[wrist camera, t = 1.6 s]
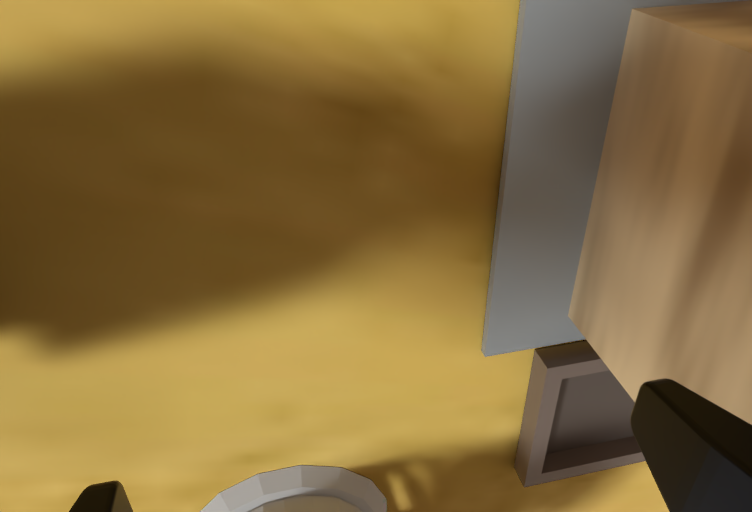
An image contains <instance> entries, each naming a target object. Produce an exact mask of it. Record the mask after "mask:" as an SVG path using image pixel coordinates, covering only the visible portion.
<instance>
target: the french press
mask: <svg viewBox="0 0 752 512" xmlns="http://www.w3.org/2000/svg"><path fill="white" fill-rule="evenodd" d="M200 512H387V499H386V498H385V496H384V495H383V494H382V493H381V491H380V490H379V489H378V488H377V487H376V485H375V484H374V483H373V482H372V480H370V479H368V478H366V477H363V476H361V475H358V474H356V473H353V472H351V471H349V470H346V469H344V468H341V467H325V466H307V465H299V466H294V467H290V468H285V469H280V470H275V471H270V472H265V473H261V474H257V475H255V476H253V477H251V478H249V479H247V480H245V481H243V482H240V483H238V484H236V485H234V486H232V487H230V488H228V489H226V490H224V491H222V492H220V493H219V494H218V495H217V496H216V497H215V498H214V499H213V500H212V501H210V502H209V503H208V504H207V505H206V506H205V507H204V508H203V509H202V510H201V511H200Z"/></svg>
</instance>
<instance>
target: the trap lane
mask: <svg viewBox="0 0 752 512" xmlns="http://www.w3.org/2000/svg"><path fill="white" fill-rule="evenodd" d="M734 1H748V0H520V8H519V17H518V26H517V35H516V44H515V53H514V62H513V71H512V80H511V89H510V98H509V107H508V116H507V125H506V134H505V143H504V152H503V161H502V170H501V179H500V188H499V197H498V206H497V214H496V223H495V232H494V241H493V250H492V259H491V268H490V277H489V286H488V295H487V304H486V313H485V322H484V331H483V340H482V349H481V351H482V352H483V354H484V356H485V357H487V356H492V355H498V354H504V353H509V352H515V351H521V350H526V349H532V348H538V347H544V346H549V345H555V344H561V343H566V342H572V341H578V340H583V339H585V337H584V336H583V335H582V333H581V332H580V331H579V330H578V328H577V327H576V326H575V324H574V323H573V322H572V321H571V319H570V318H569V317H568V313H569V308H570V304H571V299H572V294H573V289H574V284H575V280H576V275H577V270H578V265H579V260H580V256H581V251H582V246H583V241H584V236H585V232H586V227H587V222H588V217H589V212H590V208H591V203H592V198H593V193H594V188H595V184H596V179H597V174H598V169H599V164H600V160H601V155H602V150H603V145H604V140H605V136H606V131H607V126H608V121H609V117H610V112H611V107H612V102H613V97H614V93H615V88H616V83H617V78H618V73H619V69H620V64H621V59H622V54H623V49H624V45H625V40H626V35H627V30H628V25H629V21H630V16H631V11H632V9H634V8H648V7H662V6H677V5H691V4H705V3H719V2H734ZM634 404H635V402H634V401H633V399H632V398H631V397H630V395H629V394H628V393H627V392H626V390H625V389H624V388H623V386H622V385H621V384H620V383H619V381H618V380H617V379H616V377H615V376H614V375H613V374H612V372H611V371H610V370H609V368H608V367H607V366H606V364H605V363H604V362H603V361H602V359H601V358H600V357H599V355H598V354H597V353H596V352H595V350H594V349H593V348H592V346H591V345H590V344H589V343H588V341H587V340H586V341H581V342H575V343H569V344H564V345H558V346H552V347H546V348H541V349H535V352H534V357H533V363H532V369H531V374H530V380H529V386H528V391H527V397H526V403H525V408H524V414H523V420H522V425H521V431H520V437H519V442H518V448H517V454H516V459H515V465H514V468H515V470H516V472H517V474H518V476H519V478H520V480H521V482H522V484H523V486H524V487H528V486H533V485H537V484H542V483H546V482H551V481H556V480H560V479H565V478H569V477H574V476H578V475H583V474H588V473H592V472H597V471H601V470H606V469H610V468H615V467H620V466H624V465H629V464H633V463H638V462H642V461H646V460H645V458H644V456H643V454H642V452H641V450H640V447H639V445H638V443H637V441H636V439H635V437H634V435H633V432H632V429H631V423H630V418H631V414H632V410H633V407H634Z"/></svg>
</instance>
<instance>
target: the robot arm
mask: <svg viewBox="0 0 752 512" xmlns="http://www.w3.org/2000/svg"><path fill="white" fill-rule="evenodd" d="M630 423H631V429H632V432H633V435H634V437H635V439H636V441H637V443H638V445H639V447H640V450H641V452H642V454H643V456H644V458H645V460H646V462H647V464H648V467H649V469H650V471H651V473H652V475H653V477H654V479H655V482H656V484H657V486H658V488H659V490H660V492H661V494H662V497H663V499H664V501H665V503H666V505H667V507H668V509H669V511H670V512H752V425H751V424H749V423H748V422H746V421H744V420H742V419H741V418H739V417H737V416H735V415H734V414H732V413H730V412H728V411H727V410H725V409H723V408H721V407H720V406H718V405H716V404H714V403H713V402H711V401H709V400H707V399H706V398H704V397H702V396H700V395H699V394H697V393H695V392H693V391H692V390H690V389H688V388H686V387H685V386H683V385H681V384H679V383H678V382H676V381H674V380H671V379H667V378H663V379H657V380H652V381H647V382H644V383H643V384H642V385H641V386H640V389H639V392H638V395H637V398H636V401H635V404H634V407H633V410H632V414H631V418H630ZM69 512H133V510H132V508H131V505H130V503H129V500H128V498H127V495H126V493H125V490H124V488H123V486H122V484H121V483H120V482H119V481H109V482H104V483H99V484H93V485H90V486H88V487H87V488H86V489H85V490H84V491H83V492H82V493H81V495H80V496H79V498H78V499H77V501H76V502H75V504H74V505H73V507H72V508H71V509H70V511H69Z"/></svg>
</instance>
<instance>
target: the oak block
mask: <svg viewBox="0 0 752 512" xmlns="http://www.w3.org/2000/svg"><path fill="white" fill-rule="evenodd" d="M568 317H569V318H570V319H571V321H572V322H573V323H574V324H575V326H576V327H577V328H578V330H579V331H580V332H581V333H582V335H583V336H584V337H585V339H586V340H587V341H588V343H589V344H590V345H591V346H592V348H593V349H594V350H595V352H596V353H597V354H598V355H599V357H600V358H601V359H602V361H603V362H604V363H605V364H606V366H607V367H608V368H609V370H610V371H611V372H612V374H613V375H614V376H615V377H616V379H617V380H618V381H619V383H620V384H621V385H622V386H623V388H624V389H625V390H626V392H627V393H628V394H629V395H630V397H631V398H632V399H633V401H634V402H635V401H636V398H637V395H638V392H639V389H640V386H641V385H642V384H643V383H644V382H647V381H652V380H657V379H663V378H667V379H671V380H674V381H676V382H678V383H679V384H681V385H683V386H685V387H686V388H688V389H690V390H692V391H693V392H695V393H697V394H699V395H700V396H702V397H704V398H706V399H707V400H709V401H711V402H713V403H714V404H716V405H718V406H720V407H721V408H723V409H725V410H727V411H728V412H730V413H732V414H734V415H735V416H737V417H739V418H741V419H742V420H744V421H746V422H748V423H749V424H751V425H752V0H748V1H734V2H719V3H705V4H691V5H677V6H662V7H648V8H634V9H632V11H631V16H630V21H629V25H628V30H627V35H626V40H625V45H624V49H623V54H622V59H621V64H620V69H619V73H618V78H617V83H616V88H615V93H614V97H613V102H612V107H611V112H610V117H609V121H608V126H607V131H606V136H605V140H604V145H603V150H602V155H601V160H600V164H599V169H598V174H597V179H596V184H595V188H594V193H593V198H592V203H591V208H590V212H589V217H588V222H587V227H586V232H585V236H584V241H583V246H582V251H581V256H580V260H579V265H578V270H577V275H576V280H575V284H574V289H573V294H572V299H571V304H570V308H569V313H568Z"/></svg>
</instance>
